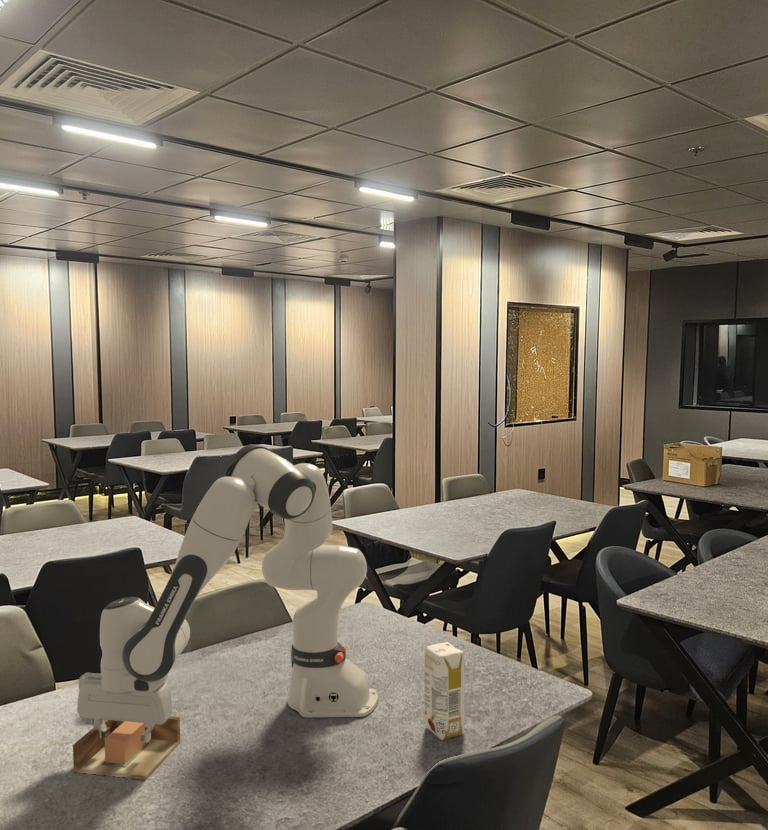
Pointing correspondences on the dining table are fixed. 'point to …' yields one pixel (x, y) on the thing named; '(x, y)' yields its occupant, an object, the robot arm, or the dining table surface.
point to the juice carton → (444, 690)
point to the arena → (140, 765)
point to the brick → (124, 742)
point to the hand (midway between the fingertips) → (125, 739)
